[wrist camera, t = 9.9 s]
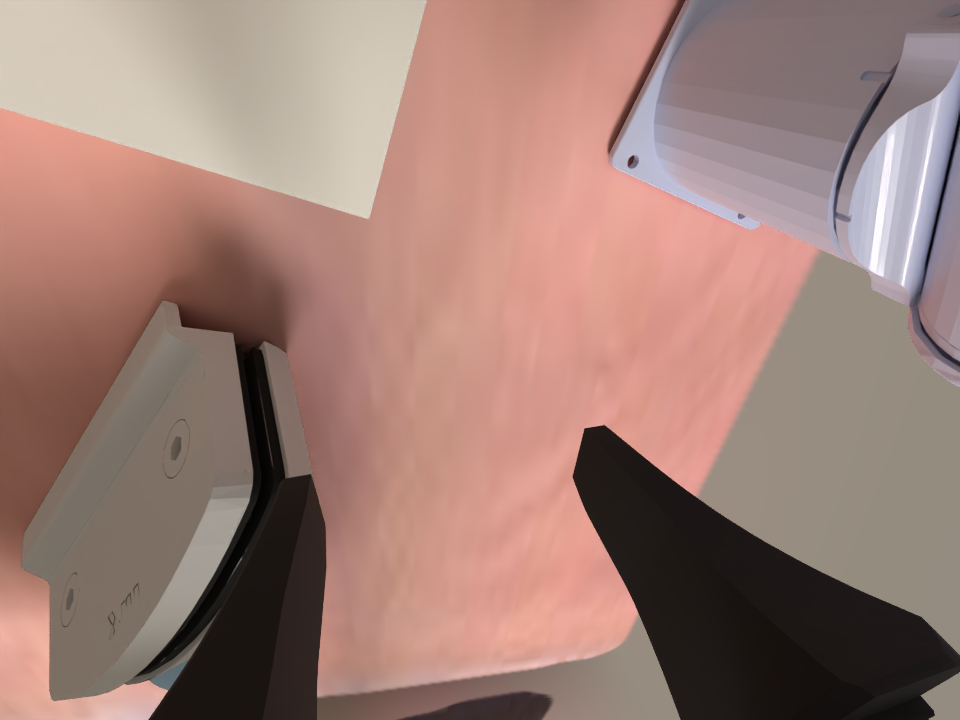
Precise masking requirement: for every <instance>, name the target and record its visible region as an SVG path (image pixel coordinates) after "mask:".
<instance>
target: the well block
mask: <svg viewBox="0 0 960 720" xmlns="http://www.w3.org/2000/svg"><path fill="white" fill-rule="evenodd" d="M426 1H427V0H0V108H2V109H6V110H9V111H12V112H16V113H19V114H22V115H26V116H29V117H32V118H36V119H39V120H42V121H45V122H49V123H52V124H55V125H59V126H62V127H65V128H69V129H72V130H75V131H79V132H82V133H85V134H88V135H92V136H95V137H98V138H102V139H105V140H108V141H112V142H115V143H118V144H122V145H125V146H128V147H131V148H135V149H138V150H141V151H145V152H148V153H151V154H155V155H158V156H161V157H165V158H168V159H171V160H175V161H178V162H181V163H184V164H188V165H191V166H194V167H198V168H201V169H204V170H208V171H211V172H214V173H218V174H221V175H224V176H227V177H231V178H234V179H237V180H241V181H244V182H247V183H251V184H254V185H257V186H261V187H264V188H267V189H270V190H274V191H277V192H280V193H284V194H287V195H290V196H294V197H297V198H300V199H304V200H307V201H310V202H314V203H317V204H320V205H323V206H327V207H330V208H333V209H337V210H340V211H343V212H347V213H350V214H353V215H357V216H360V217H363V218H366V219H369V217H370V213H371V210H372V206H373V202H374V198H375V194H376V191H377V187H378V183H379V179H380V175H381V172H382V168H383V164H384V160H385V157H386V153H387V149H388V145H389V141H390V138H391V134H392V130H393V126H394V122H395V119H396V115H397V111H398V107H399V103H400V100H401V96H402V92H403V88H404V85H405V81H406V77H407V73H408V69H409V66H410V62H411V58H412V54H413V50H414V47H415V43H416V39H417V35H418V31H419V28H420V24H421V20H422V16H423V13H424V9H425V5H426Z"/></svg>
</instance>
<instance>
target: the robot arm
mask: <svg viewBox="0 0 960 720" xmlns="http://www.w3.org/2000/svg"><path fill="white" fill-rule="evenodd" d="M633 155H634V161H633V163H632V164H631V165H630V166H628V165H627V162H628V159H629V158H630V157H631V156H633ZM609 163H610V165H611V166H612V167H613V168H615V169H617V170H619V171H621V172H624V173H626V174H628V175H630V176H632V177H635V178H637V179H639V180H641V181H643V182H646V183H648V184H650V185H652V186H654V187H657V188H659V189H661V190H663V191H665V192H668V193H670V194H672V195H674V196H676V197H679V198H681V199H683V200H685V201H687V202H690V203H692V204H694V205H696V206H698V207H700V208H703V209H705V210H707V211H709V212H711V213H714V214H716V215H718V216H720V217H722V218H725V219H727V220H729V221H731V222H733V223H736V224H738V225H740V226H742V227H744V228H747V229H749V230H753V229H755V228H757V227H758V226H760V224H761V223H762V224H765V225H767V226H769V227H771V228H774V229H776V230H778V231H780V232H783V233H785V234H787V235H789V236H792V237H794V238H796V239H798V240H801V241H803V242H805V243H807V244H810V245H812V246H814V247H816V248H819V249H821V250H823V251H825V252H828V253H830V254H832V255H834V256H837V257H839V258H841V259H843V260H846V261H848V262H850V263H854V264H856V265H858V266H860V267H861V268H863V269H865V270H867V271H868V273H869V274H870V276H871V279H872V289H873V290H875V291H877V292H879V293H881V294H883V295H885V296H887V297H889V298H892V299H894V300H896V301H898V302H900V303H902V304H904V305H906V306H908V307H910V310H909V314H908V329H909V332H910V336H911V340H912V343H913V344H914V346H915V348H916V349H917V351H918V353H919V354H920V356H921V357H922V358H923V359H924V360H925V361H926V362H927V363H928V364H929V365H930V367H932V369H934V370H935V371H936V372H937V373H939V374H940V375H942V376H943V377H944V378H945V379H947V380H948V381H949V382H951V383H953V384H954V385H956V386H958V387H960V0H686V1H685V3H684V5H683V7H682V9H681V11H680V13H679V15H678V17H677V19H676V21H675V23H674V25H673V27H672V29H671V31H670V33H669V35H668V37H667V39H666V41H665V43H664V45H663V47H662V49H661V51H660V53H659V55H658V57H657V59H656V61H655V63H654V65H653V67H652V69H651V71H650V73H649V75H648V77H647V79H646V81H645V83H644V85H643V87H642V89H641V91H640V93H639V95H638V97H637V99H636V101H635V103H634V105H633V107H632V109H631V111H630V113H629V115H628V117H627V119H626V121H625V123H624V125H623V127H622V129H621V131H620V133H619V135H618V137H617V139H616V141H615V143H614V145H613V147H612V149H611V151H610V154H609ZM739 213H740V214H739ZM738 214H739V215H738ZM573 479H574V482H575V485H576V487H577V490H578V493H579V496H580V498H581V500H582V503H583V505H584V508H585V510H586V512H587V514H588V516H589V518H590V520H591V522H592V524H593V526H594V528H595V530H596V531H597V533H598V535H599V537H600V539H601V541H602V543H603V544H604V546H605V548H606V550H607V552H608V554H609V556H610V557H611V559H612V561H613V563H614V565H615V567H616V568H617V570H618V572H619V574H620V576H621V578H622V580H623V581H624V583H625V585H626V587H627V589H628V591H629V593H630V595H631V597H632V599H633V601H634V603H635V606H636V608H637V611H638V613H639V615H640V618H641V620H642V622H643V625H644V627H645V629H646V631H647V634H648V636H649V639H650V641H651V643H652V646H653V649H654V651H655V654H656V656H657V658H658V661H659V664H660V666H661V669H662V671H663V673H664V676H665V679H666V681H667V684H668V687H669V689H670V692H671V695H672V697H673V700H674V703H675V706H676V708H677V711H678V713H679V716H680V719H681V720H929V718H931V717H933V716H935V714H934V710H933V709H932V708H931V707H930V706H929V705H928V704H927V703H926V701H925V700H924V699H923V698H922V697H921V696H920V695H922V694H924V693H925V692H927V691H929V690H931V689H932V688H934V687H935V686H937V685H939V684H941V683H942V682H944V681H946V680H947V679H949V678H951V677H952V676H954V675H956V674H957V673H959V672H960V655H959V654H958V653H957V652H956V651H955V650H954V649H953V648H952V647H951V646H950V645H949V644H948V643H947V642H946V641H945V640H944V639H943V638H942V637H941V636H940V635H939V634H938V633H937V632H936V631H935V630H934V629H933V628H932V627H931V626H930V625H929V624H928V623H927V622H926V621H925V620H924V619H923V618H922V617H920V616H918V615H915V614H913V613H911V612H908V611H906V610H904V609H901V608H899V607H897V606H894V605H892V604H890V603H887V602H885V601H882V600H880V599H878V598H876V597H873V596H871V595H868V594H866V593H864V592H862V591H860V590H857V589H855V588H853V587H851V586H849V585H847V584H845V583H843V582H840V581H839V580H836V579H834V578H832V577H830V576H828V575H826V574H824V573H822V572H820V571H818V570H816V569H814V568H812V567H810V566H808V565H806V564H804V563H802V562H801V561H799V560H797V559H795V558H793V557H791V556H790V555H788V554H786V553H784V552H782V551H780V550H779V549H777V548H775V547H773V546H771V545H770V544H768V543H766V542H764V541H763V540H761V539H759V538H758V537H756V536H754V535H753V534H751V533H749V532H748V531H746V530H744V529H743V528H741V527H740V526H738V525H736V524H735V523H733V522H732V521H730V520H729V519H727V518H725V517H724V516H722V515H721V514H719V513H718V512H716V511H715V510H713V509H712V508H711V507H709V506H708V505H706V504H705V503H704V502H702V501H701V500H699V499H698V498H696V497H695V496H694V495H692V494H691V493H689V492H688V491H687V490H685V489H684V488H683V487H681V486H680V485H679V484H677V483H676V482H675V481H673V480H672V479H671V478H669V477H668V476H667V475H666V474H664V473H663V472H662V471H660V470H659V469H658V468H657V467H655V466H654V465H653V464H652V463H650V462H649V461H648V460H647V459H645V458H644V457H643V456H642V455H641V454H639V453H638V452H637V451H636V450H634V449H633V448H632V447H631V446H630V445H628V444H627V443H626V442H625V441H623V440H622V439H621V438H620V437H619V436H617V435H616V434H615V433H614V432H612V431H611V430H610V429H609V428H607V427H606V426H605V425H603V426H597V427H591V428H585V429H584V433H583V437H582V441H581V445H580V449H579V453H578V457H577V461H576V465H575V469H574V473H573ZM325 577H326V529H325V521H324V518H323V514H322V511H321V507H320V504H319V500H318V497H317V493H316V489H315V486H314V482H313V479H312V475H311V474H308V475H302V476H296V477H290V478H284V479H283V480H282V481H281V482H280V484H279V487H278V490H277V493H276V495H275V498H274V500H273V503H272V505H271V508H270V510H269V512H268V515H267V517H266V519H265V522H264V524H263V526H262V528H261V530H260V533H259V535H258V537H257V539H256V541H255V543H254V545H253V547H252V549H251V551H250V553H249V555H248V557H247V559H246V561H245V563H244V565H243V567H242V569H241V571H240V573H239V575H238V577H237V579H236V581H235V583H234V584H233V586H232V588H231V590H230V592H229V593H228V595H227V597H226V599H225V601H224V602H223V604H222V606H221V608H220V610H219V611H218V613H217V615H216V617H215V618H214V620H213V622H212V623H211V625H210V627H209V628H208V630H207V632H206V633H205V635H204V637H203V638H202V640H201V642H200V643H199V645H198V646H197V648H196V650H195V651H194V653H193V654H192V656H191V657H190V659H189V661H188V662H187V664H186V665H185V667H184V668H183V670H182V671H181V673H180V675H179V676H178V677H177V679H176V680H175V682H174V683H173V685H172V686H171V688H170V689H169V691H168V692H167V694H166V695H165V697H164V698H163V699H162V701H161V702H160V704H159V705H158V707H157V708H156V710H155V711H154V713H153V714H152V715H151V717H150V718H149V720H317V675H318V659H319V648H320V636H321V625H322V613H323V601H324V589H325Z"/></svg>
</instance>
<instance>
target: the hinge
mask: <svg viewBox="0 0 960 720" xmlns="http://www.w3.org/2000/svg"><path fill="white" fill-rule="evenodd" d="M308 474H311V475H312V479H314V477H313V471H312V467H311V462H310V457H309V453H308V448H307V444H306V439H305V435H304V430H303V425H302V421H301V416H300V412H299V407H298V403H297V398H296V393H295V389H294V384H293V380H292V375H291V371H290V366H289V361H288V357H287V353H285V352H284V351H282V350H281V349H280V348H278V347H276V346H274V345H272V344H270V343H268V342H266V341H264V342H263V343H262V344H261V346H260V347H259V348H258V349H255V348H252V349H251V350H250V352H249V353H248V355H247V356H246V357H245V359H243V353H242V346H241V345H238V344H235V343H234V336H233V333H229V332H220V331H211V330H203V329H194V328H186V327H182V326H181V321H180V315H179V310H178V305H177V304H174V303H171V302H168V301H164V300H162V302H161V304H160V305H159V307H158V309H157V310H156V312H155V314H154V315H153V317H152V319H151V320H150V322H149V324H148V325H147V327H146V329H145V331H144V332H143V334H142V336H141V337H140V339H139V341H138V342H137V344H136V346H135V347H134V349H133V351H132V352H131V354H130V356H129V358H128V359H127V361H126V363H125V364H124V366H123V368H122V369H121V371H120V373H119V374H118V376H117V378H116V379H115V381H114V383H113V384H112V386H111V388H110V390H109V391H108V393H107V395H106V396H105V398H104V400H103V401H102V403H101V405H100V406H99V408H98V410H97V411H96V413H95V415H94V416H93V418H92V420H91V422H90V423H89V425H88V427H87V428H86V430H85V432H84V433H83V435H82V437H81V438H80V440H79V442H78V443H77V445H76V447H75V448H74V450H73V452H72V454H71V455H70V457H69V459H68V460H67V462H66V464H65V465H64V467H63V469H62V470H61V472H60V474H59V475H58V477H57V479H56V481H55V482H54V484H53V486H52V487H51V489H50V491H49V492H48V494H47V496H46V497H45V499H44V501H43V502H42V504H41V506H40V507H39V509H38V511H37V513H36V514H35V516H34V518H33V519H32V521H31V523H30V524H29V526H28V528H27V529H26V531H25V533H24V536H23V546H22V557H21V566H22V568H23V569H24V570H26V571H28V572H30V573H32V574H34V575H36V576H38V577H40V578H42V579H44V580H46V581H47V582H48V583H49V585H50V665H49V691H50V695H51V699H52V700H53V701H58V700H66V699H74V698H82V697H90V696H97V695H100V694H104V693H108V692H110V691H112V690H114V689H116V688H118V687H120V686H122V685H123V684H126V685H130V684H137V683H141V682H144V681H147V680H150V679H152V678H154V677H156V676H158V675H160V674H162V673H164V672H166V671H168V670H170V669H172V668H174V667H176V666H178V665H180V664H182V663H184V662H185V661H187V660H189V659H190V657H191V656H192V654H193V653H194V651H195V650H196V648H197V646H198V645H199V643H200V642H201V640H202V638H203V637H204V635H205V633H206V632H207V630H208V628H209V627H210V625H211V623H212V622H213V620H214V618H215V617H216V615H217V613H218V611H219V610H220V608H221V606H222V604H223V602H224V601H225V599H226V597H227V595H228V593H229V592H230V590H231V588H232V586H233V584H234V583H235V581H236V579H237V577H238V575H239V573H240V571H241V569H242V567H243V565H244V563H245V561H246V559H247V557H248V555H249V553H250V551H251V549H252V547H253V545H254V543H255V541H256V539H257V537H258V535H259V533H260V530H261V528H262V526H263V524H264V522H265V519H266V517H267V515H268V512H269V510H270V508H271V505H272V503H273V500H274V498H275V495H276V493H277V490H278V487H279V484H280V482H281V481H282V480H283V479H284V478H290V477H296V476H302V475H308Z"/></svg>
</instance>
